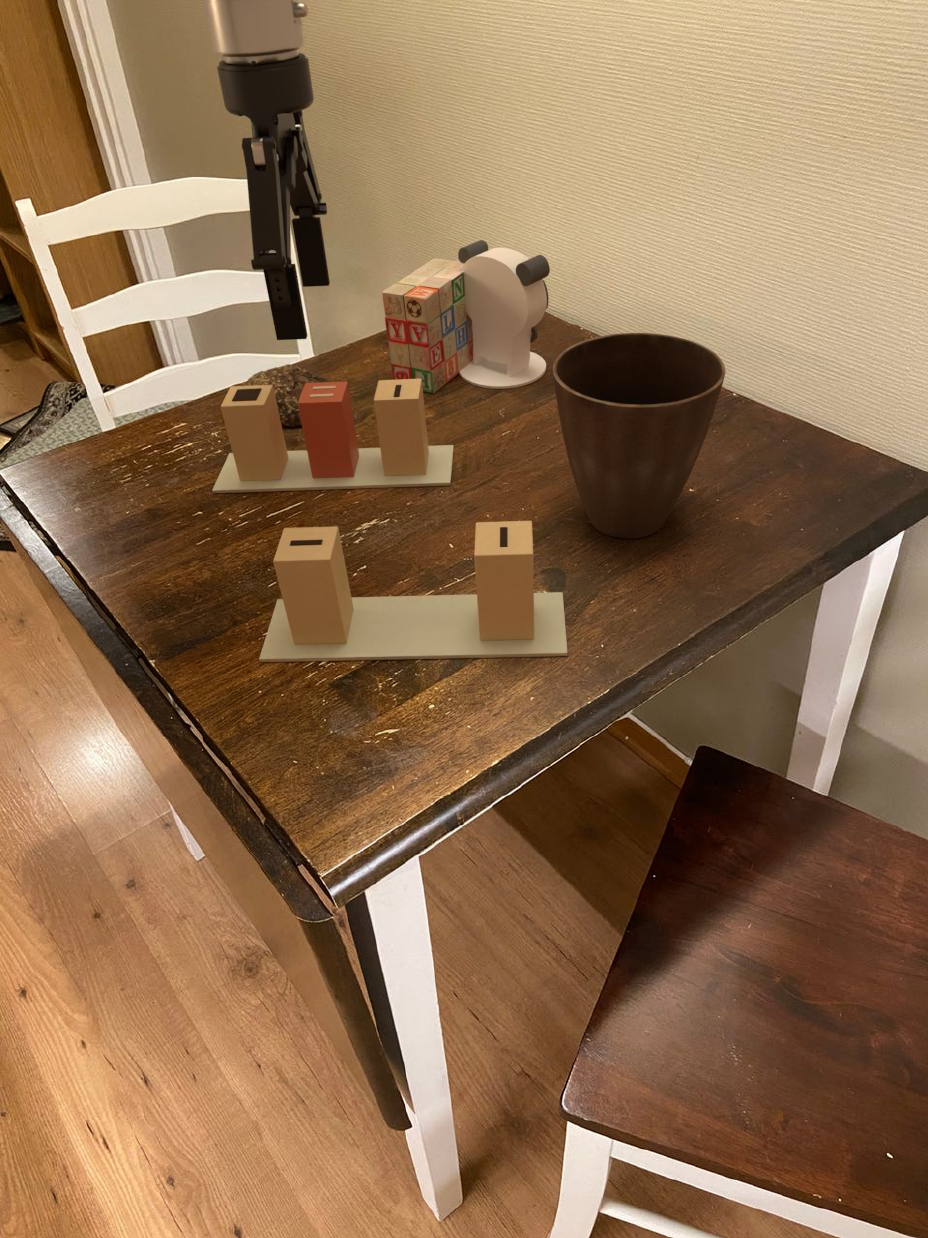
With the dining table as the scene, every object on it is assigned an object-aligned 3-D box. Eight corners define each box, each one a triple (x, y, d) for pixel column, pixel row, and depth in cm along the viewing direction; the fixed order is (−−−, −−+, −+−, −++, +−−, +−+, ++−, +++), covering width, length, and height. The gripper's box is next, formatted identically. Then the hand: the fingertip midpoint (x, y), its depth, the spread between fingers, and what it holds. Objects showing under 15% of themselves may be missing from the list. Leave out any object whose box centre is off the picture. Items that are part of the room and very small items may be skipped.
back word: (212, 493, 96) (189, 414, 90) (230, 455, 102) (209, 379, 96) (450, 485, 94) (443, 404, 88) (453, 447, 100) (447, 369, 94)
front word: (259, 662, 75) (234, 574, 69) (278, 602, 81) (256, 516, 75) (567, 656, 73) (569, 565, 67) (562, 595, 79) (564, 506, 73)
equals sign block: (312, 478, 96) (297, 402, 90) (319, 456, 100) (304, 382, 94) (354, 477, 96) (341, 400, 90) (359, 455, 99) (347, 380, 94)
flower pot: (586, 466, 96) (590, 322, 85) (722, 495, 90) (745, 344, 79) (527, 540, 86) (524, 387, 75) (676, 578, 80) (695, 418, 70)
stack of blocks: (474, 323, 127) (469, 234, 119) (513, 330, 124) (510, 239, 116) (392, 386, 113) (380, 290, 105) (434, 394, 111) (424, 296, 103)
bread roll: (220, 414, 110) (210, 376, 107) (289, 375, 117) (282, 339, 114) (294, 439, 104) (285, 400, 101) (362, 396, 111) (356, 359, 108)
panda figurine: (567, 365, 115) (570, 246, 105) (510, 398, 109) (507, 275, 99) (498, 343, 121) (494, 229, 111) (441, 373, 115) (431, 255, 105)
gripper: (276, 79, 63) (322, 362, 76) (329, 30, 82) (359, 264, 95) (173, 85, 63) (238, 365, 77) (250, 35, 82) (290, 267, 96)
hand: (305, 310), depth 86 cm, fingers open, 13 cm apart
